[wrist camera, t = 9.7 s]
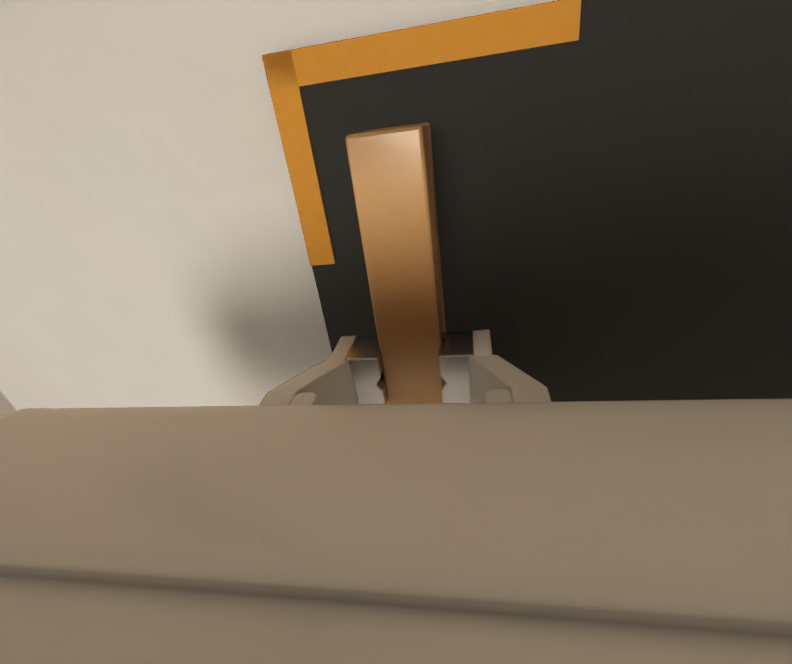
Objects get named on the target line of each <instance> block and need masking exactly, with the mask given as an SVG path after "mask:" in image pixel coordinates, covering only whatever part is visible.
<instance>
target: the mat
mask: <svg viewBox="0 0 792 664" xmlns="http://www.w3.org/2000/svg"><path fill="white" fill-rule="evenodd" d="M262 58H263V62H264V67H265V71H266V75H267V80H268V84H269V88H270V92H271V97H272V101H273V105H274V109H275V114H276V118H277V122H278V127H279V131H280V135H281V139H282V144H283V148H284V152H285V157H286V161H287V165H288V169H289V174H290V178H291V182H292V187H293V191H294V195H295V199H296V204H297V208H298V212H299V217H300V221H301V225H302V229H303V234H304V238H305V242H306V247H307V251H308V255H309V259H310V264H311V266H312V268H313V272H314V276H315V280H316V285H317V289H318V293H319V298H320V302H321V306H322V311H323V315H324V319H325V324H326V328H327V332H328V336H329V341H330V345H331V349H332V353H333V351H334V349H335V347H336V345H337V343H338V342H339V340H340V338H341V337H343V336H354V335H356V336H364V335H377V331H376V325H375V319H374V313H373V306H372V300H371V294H370V288H369V282H368V276H367V270H366V264H365V257H364V251H363V245H362V239H361V233H360V227H359V221H358V215H357V209H356V202H355V196H354V190H353V184H352V178H351V172H350V166H349V160H348V154H347V147H346V141H345V139H346V136H348V135H350V134H354V133H359V132H363V131H367V130H373V129H380V128H388V127H395V126H403V125H410V124H418V123H425V122H427V123H429V124H430V128H431V142H432V155H433V168H434V181H435V195H436V208H437V221H438V234H439V248H440V261H441V274H442V288H443V301H444V314H445V327H446V332H454V331H469V330H472V334H473V331H475V330H486V329H489V330H490V338H491V346H492V354H493V355H498V356H500V357H501V358H503V359H504V360H506V361H507V362H509V363H510V364H512V365H514V366H515V367H517V368H518V369H520V370H521V371H523V372H524V373H526V374H527V375H529V376H531V377H532V378H534V379H535V380H537V381H538V382H540V383H541V384H543V385H545V386H546V387H547V389H548V392H549V396H550V399H551V402H570V401H641V400H712V399H786V398H792V0H558V1H553V2H547V3H542V4H536V5H531V6H526V7H520V8H515V9H509V10H504V11H498V12H493V13H488V14H482V15H477V16H471V17H466V18H461V19H455V20H450V21H444V22H439V23H433V24H428V25H423V26H417V27H412V28H406V29H401V30H396V31H390V32H385V33H379V34H374V35H369V36H363V37H358V38H352V39H347V40H341V41H336V42H331V43H325V44H320V45H314V46H309V47H304V48H298V49H293V50H287V51H282V52H276V53H271V54H266V55H262Z"/></svg>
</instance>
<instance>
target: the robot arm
mask: <svg viewBox="0 0 792 664" xmlns="http://www.w3.org/2000/svg"><path fill="white" fill-rule="evenodd" d="M439 367H440V377H441V378H442V399H443V403H425V404H387V401H388V394H387V388H386V381H385V379H384V374H383V364H382V358H381V352H380V349H379V343H378V337H377V335H364V336H356V335H354V336H343V337H341V338H340V340H339V342H338V343H337V345H336V347H335V349H334V351H333V353H332V355H331V356H330V358H329V360H328V361H323V362H321V363H319V364H317V365H316V366H314V367H312V368H310V369H308V370H307V371H305V372H303V373H301V374H299V375H298V376H296V377H294V378H292V379H291V380H289V381H287V382H285V383H283V384H282V385H280V386H278V387H276V388H275V389H273V390H271V391H269V392H268V393H267V394H266V395H265V397H264V398H263V400H262V401H261V403H260V404H259V406H199V407H128V408H56V409H53V408H27V409H20V410H17V411H13V412H10V413H6V414H3V415H0V664H792V398H786V399H712V400H641V401H570V402H551V399H550V396H549V392H548V389H547V387H546V386H545V385H543V384H541V383H540V382H538V381H537V380H535V379H534V378H532V377H531V376H529V375H527V374H526V373H524V372H523V371H521V370H520V369H518V368H517V367H515V366H514V365H512V364H510V363H509V362H507V361H506V360H504V359H503V358H501V357H500V356H498V355H493V354H492V346H491V338H490V330H489V329H486V330H475V331H473V334H472V330H469V331H454V332H442V343H441V347H440V348H439Z"/></svg>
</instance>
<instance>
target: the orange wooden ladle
mask: <svg viewBox="0 0 792 664" xmlns="http://www.w3.org/2000/svg"><path fill="white" fill-rule="evenodd" d="M345 141H346V147H347V154H348V160H349V166H350V172H351V178H352V184H353V190H354V196H355V202H356V209H357V215H358V221H359V227H360V233H361V239H362V245H363V251H364V257H365V264H366V270H367V276H368V282H369V288H370V294H371V300H372V306H373V313H374V319H375V325H376V331H377V337H378V343H379V349H380V352H381V358H382V364H383V374H384V379H385V381H386V388H387V394H388V401H387V404H425V403H443V399H442V378H441V377H440V367H439V348H440V347H441V343H442V332H446V327H445V314H444V301H443V288H442V274H441V261H440V248H439V234H438V221H437V208H436V195H435V181H434V168H433V155H432V142H431V128H430V124H429V123H427V122H425V123H418V124H410V125H403V126H395V127H388V128H380V129H373V130H367V131H363V132H359V133H354V134H350V135H348V136H346V139H345Z"/></svg>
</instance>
